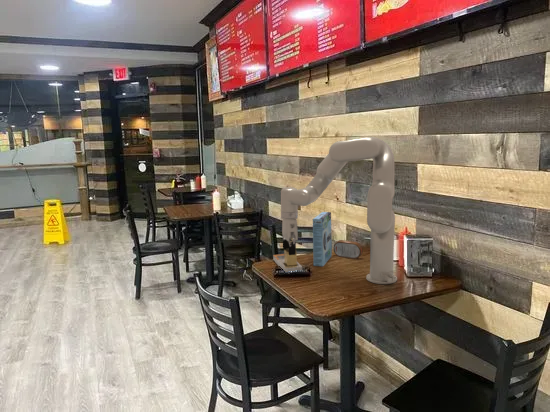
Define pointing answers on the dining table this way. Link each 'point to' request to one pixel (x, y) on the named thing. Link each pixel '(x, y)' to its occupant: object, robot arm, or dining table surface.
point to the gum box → (322, 239)
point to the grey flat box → (281, 262)
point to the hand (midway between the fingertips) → (289, 251)
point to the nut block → (290, 258)
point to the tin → (348, 249)
